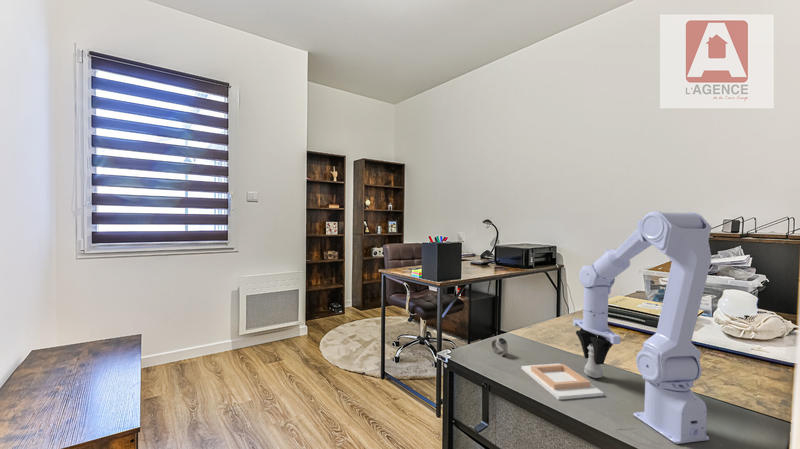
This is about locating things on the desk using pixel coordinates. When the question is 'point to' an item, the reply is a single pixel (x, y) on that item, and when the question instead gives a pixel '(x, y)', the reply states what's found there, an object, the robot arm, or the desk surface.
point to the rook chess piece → (592, 365)
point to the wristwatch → (501, 343)
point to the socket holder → (562, 381)
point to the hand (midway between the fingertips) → (593, 360)
